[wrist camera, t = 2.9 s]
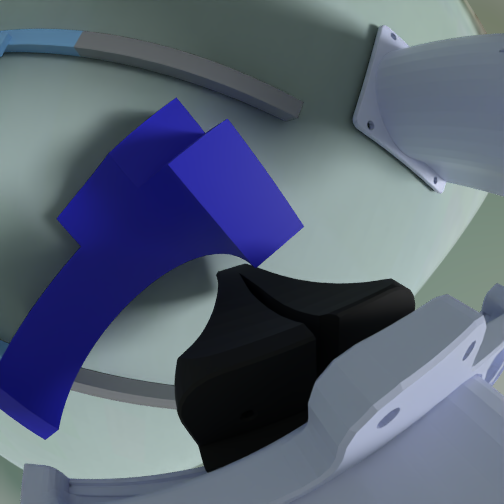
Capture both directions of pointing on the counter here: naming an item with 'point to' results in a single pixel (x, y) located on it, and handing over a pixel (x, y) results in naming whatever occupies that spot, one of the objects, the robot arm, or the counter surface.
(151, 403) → the blue grey open frame
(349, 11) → the counter surface
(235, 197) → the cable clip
